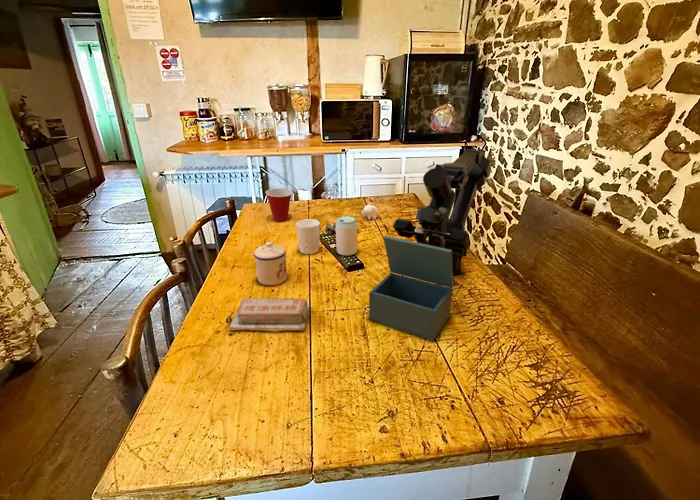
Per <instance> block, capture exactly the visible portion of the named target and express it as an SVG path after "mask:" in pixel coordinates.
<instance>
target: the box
mask: <svg viewBox="0 0 700 500" xmlns="http://www.w3.org/2000/svg"><path fill="white" fill-rule="evenodd" d="M453 289H454V288H450V287H446V286H442V285H438V284H434V283H431V282H427V281H423V280H419V279H415V278H411V277H408V276H404V275H400V274H396V273H392V272H390V273H389V274H388V275H387V276H386V277H384V278H383V279H382V280H381V281H380V282H378V284H376V285H375V287H373V288H372V289H371V290H370V291H369V293H368V296H369V297H368V298H369V299H368V300H369V301H368V306H369V307H368V308H369V309H368V320H370V321H373V322H376V323H379V324H382V325H385V326H388V327H391V328H394V329H397V330H400V331H403V332H406V333H408V334H412V335H415V336H417V337H421V338H425V339H426V340H430V341H434V340H435V338H436V337H437V336H438V335H439V332H440V331H441V330H442V328H443V327H444V326H445V323H446V322H447V321H448V319H449V318H450V315H451V309H452V308H451V307H452V299H453Z"/></svg>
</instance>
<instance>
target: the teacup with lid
mask: <svg viewBox="0 0 700 500" xmlns="http://www.w3.org/2000/svg"><path fill="white" fill-rule="evenodd" d="M286 253H287V250H286V249H285V247H283V246H282V245H279V244H273V242H272V241H266V242H265V244H264V245H262V246H258V247H257V248H256V249H255V250H254V252H253V256H254V260H255V269H256V276H257V281H258V283H260V284H262V285H264V286H277V285H280V284H282V283H284V282H286V280H287V279H288V270H287V259H286V258H287V257H286Z"/></svg>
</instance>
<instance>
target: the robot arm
mask: <svg viewBox="0 0 700 500" xmlns="http://www.w3.org/2000/svg"><path fill="white" fill-rule="evenodd" d="M491 172H492V165H491V161H490V159H488V158H487V157H486V156H484V154H483V152H482V151H480V150H479V149H464V150H463V152H462V154H461V155H460V156H459V157H457V158H456V159H455V160H454V161H453V162H446V163H443V164H438V163H437V164H435V167H434V168H431V169H429V170H427V171H426V172H425V173H424V175H423V178H422V182H423V185H424V187H425V189H426V192H427V194H428V197H430V201H429V204H428V205H426V206H425V207H423V206H418V207H417V212H416V216H415V221H418V225H419V226H418V225H414V224H413V222H412V220H410V219H405V218H400V217H399V218H397V219H395V220H394V222H393V225H392V229H393V230H394V232H395V233H396V234H397V236H399V237H402V238H407V239H410V238H412V237H413V238H414V240H415V242H417V243H422V244H426V245H431V246H436V247H440V248H445V249H450V250H452V266H453V276H458V275H463V273H464V272H463V270H461V267H462V261H463V260H462V259H463V258H464V257H467V255H468V250H469V248H470V244H471V238H470V236H469V233H468V231H467V230H464V226H465V224H466V221H467V218H468V215H469V213H470V211H471V208H472V205H473V202H474V199H475V198H476V197H475V196H476V193H477V191H478V190H479V189H480V188H482V187H483V186H484V185H486V183H487V180H488V179H489V178H490V176H491V174H492V173H491ZM454 189H455V190H459V193H458V195H456V192H455V191H454Z"/></svg>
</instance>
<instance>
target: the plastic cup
mask: <svg viewBox="0 0 700 500" xmlns="http://www.w3.org/2000/svg"><path fill="white" fill-rule="evenodd" d="M265 195H266V197H267V201H268V203H269V207H270V211H271V214H272V218H273V220H274V221H275V222H286V221H288V220H289V212H290V203H291V197H292V195H293V191H292V190H291V189H287V188H270V189H267V190H266V191H265Z"/></svg>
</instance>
